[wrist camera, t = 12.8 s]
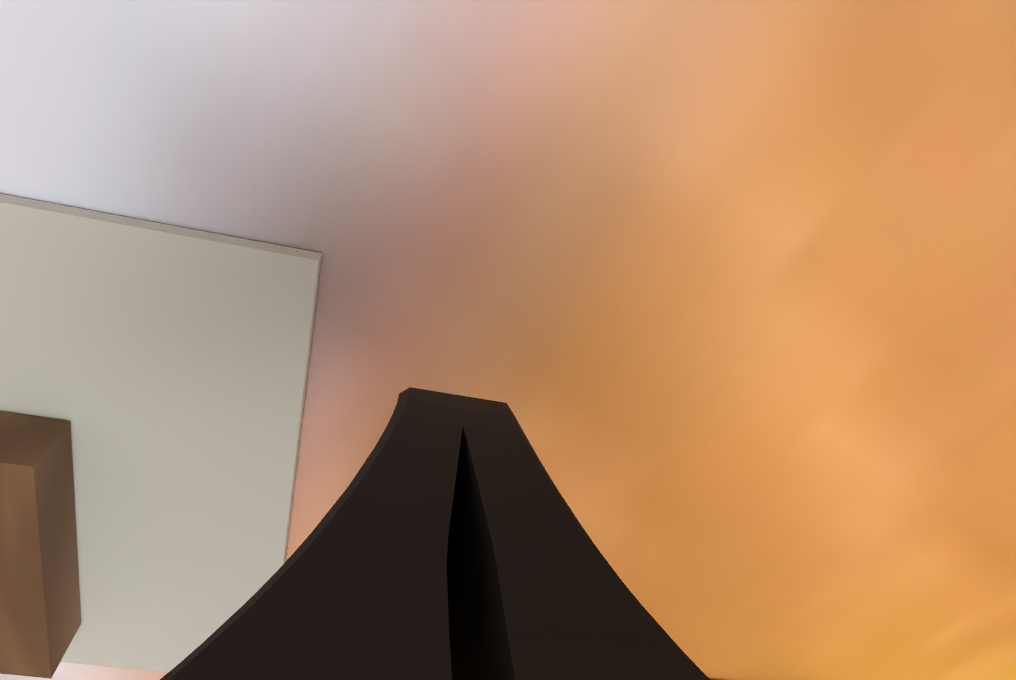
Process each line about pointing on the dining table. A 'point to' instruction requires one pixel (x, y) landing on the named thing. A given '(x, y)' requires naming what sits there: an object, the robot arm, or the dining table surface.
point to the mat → (160, 411)
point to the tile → (36, 545)
